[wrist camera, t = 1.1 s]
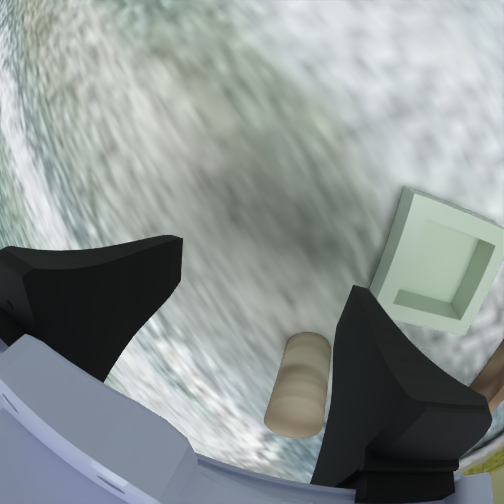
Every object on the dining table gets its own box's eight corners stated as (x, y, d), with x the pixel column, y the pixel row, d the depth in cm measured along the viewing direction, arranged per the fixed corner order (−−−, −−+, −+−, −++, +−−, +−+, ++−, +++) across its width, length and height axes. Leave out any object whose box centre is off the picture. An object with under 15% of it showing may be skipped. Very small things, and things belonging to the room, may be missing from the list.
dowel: (322, 370, 24) (311, 442, 17) (281, 359, 25) (259, 429, 18) (337, 338, 22) (331, 416, 15) (292, 327, 23) (270, 401, 16)
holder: (453, 314, 19) (463, 335, 16) (367, 291, 20) (370, 314, 18) (493, 221, 15) (512, 234, 13) (402, 184, 17) (414, 193, 14)
